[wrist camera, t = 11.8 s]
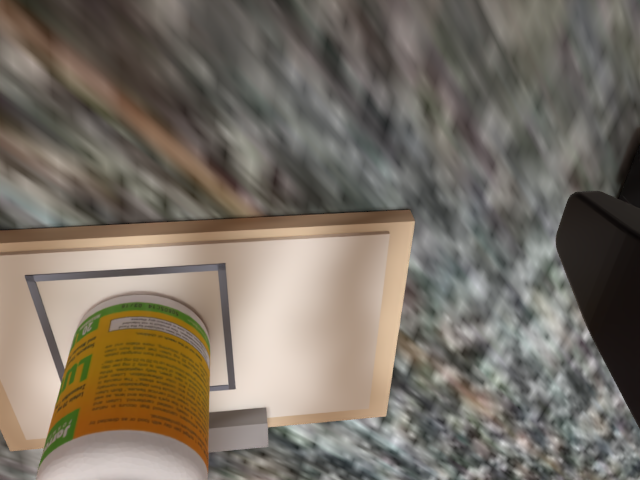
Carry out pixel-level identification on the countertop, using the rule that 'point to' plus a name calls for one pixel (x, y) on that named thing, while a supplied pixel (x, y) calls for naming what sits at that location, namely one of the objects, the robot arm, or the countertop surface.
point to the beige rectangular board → (218, 313)
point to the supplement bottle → (132, 396)
